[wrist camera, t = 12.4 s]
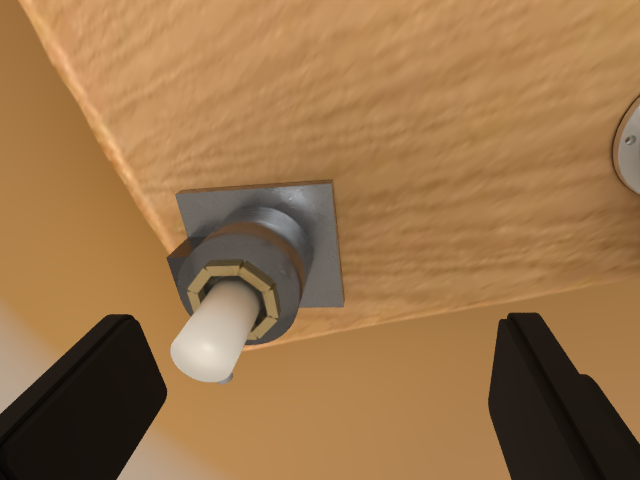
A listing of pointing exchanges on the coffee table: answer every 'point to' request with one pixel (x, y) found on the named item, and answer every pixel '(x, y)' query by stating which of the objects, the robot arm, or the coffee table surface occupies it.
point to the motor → (262, 248)
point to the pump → (217, 331)
